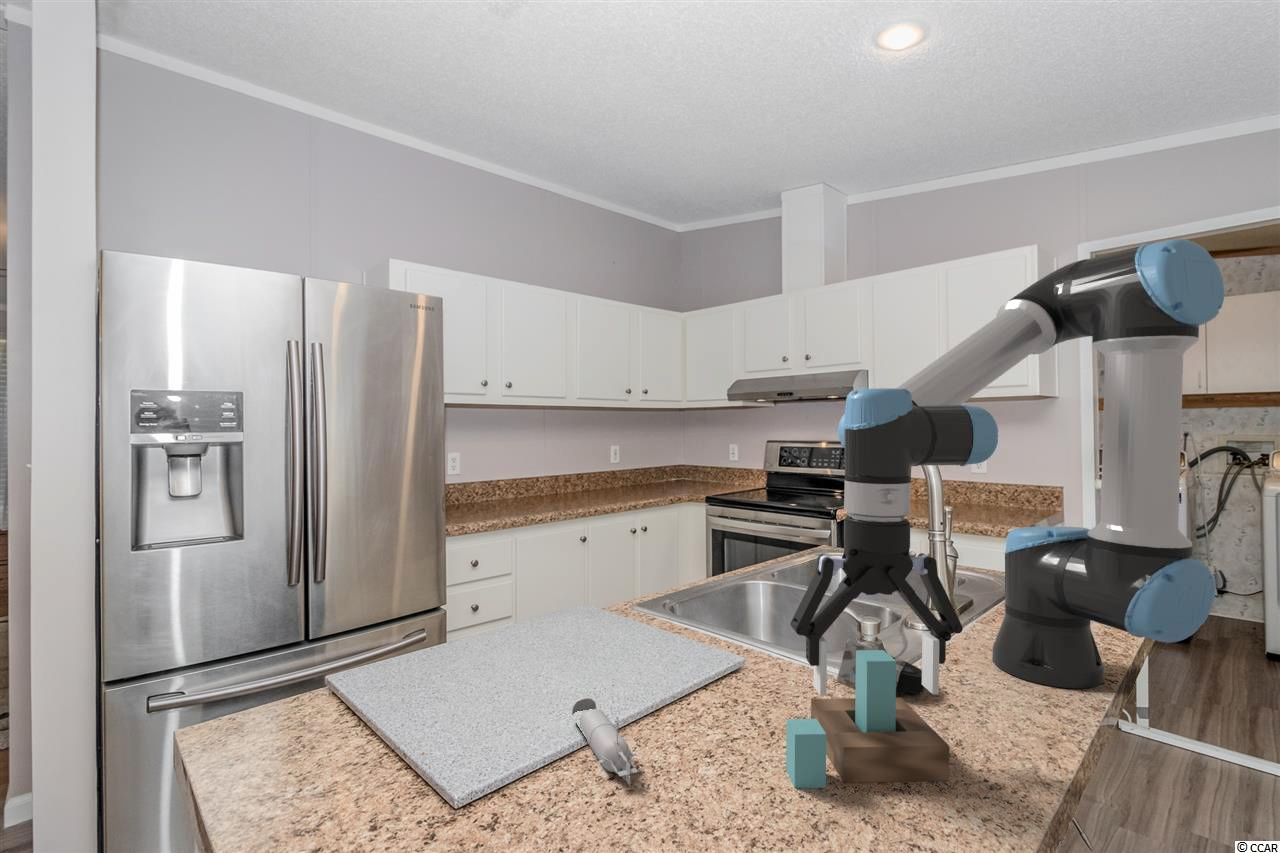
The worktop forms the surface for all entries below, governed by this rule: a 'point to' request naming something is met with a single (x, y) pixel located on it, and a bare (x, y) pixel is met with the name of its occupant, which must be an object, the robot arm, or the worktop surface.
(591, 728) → the torpedo
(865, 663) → the long pin
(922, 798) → the worktop surface
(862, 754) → the hole block
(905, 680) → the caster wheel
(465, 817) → the worktop surface
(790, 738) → the short pin
